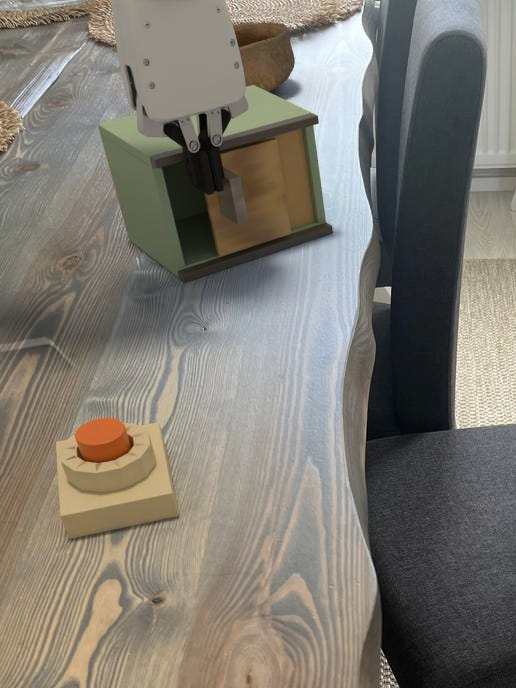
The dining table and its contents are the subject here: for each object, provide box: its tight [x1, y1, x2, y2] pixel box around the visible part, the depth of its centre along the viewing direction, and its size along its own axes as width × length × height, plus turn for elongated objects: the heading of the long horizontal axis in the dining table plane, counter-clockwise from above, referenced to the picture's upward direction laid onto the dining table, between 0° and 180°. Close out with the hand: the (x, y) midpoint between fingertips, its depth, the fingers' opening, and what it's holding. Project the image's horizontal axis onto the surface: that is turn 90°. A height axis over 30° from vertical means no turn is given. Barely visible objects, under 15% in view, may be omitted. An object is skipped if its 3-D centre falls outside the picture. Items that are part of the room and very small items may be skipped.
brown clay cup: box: [233, 22, 296, 93], centre depth 141 cm, size 18×14×10 cm
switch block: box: [55, 421, 180, 540], centre depth 76 cm, size 10×8×4 cm
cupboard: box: [97, 85, 334, 283], centre depth 106 cm, size 18×13×12 cm
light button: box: [74, 417, 131, 463], centre depth 75 cm, size 4×4×2 cm
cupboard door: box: [204, 138, 291, 257], centre depth 101 cm, size 9×4×10 cm, turn 128°
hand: (209, 188), depth 97 cm, fingers closed
